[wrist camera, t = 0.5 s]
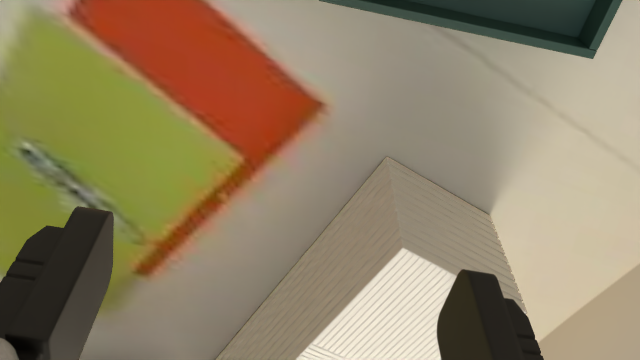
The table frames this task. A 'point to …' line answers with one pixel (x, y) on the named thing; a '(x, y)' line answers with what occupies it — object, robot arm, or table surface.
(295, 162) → the table surface
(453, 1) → the tray
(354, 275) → the stack of papers
